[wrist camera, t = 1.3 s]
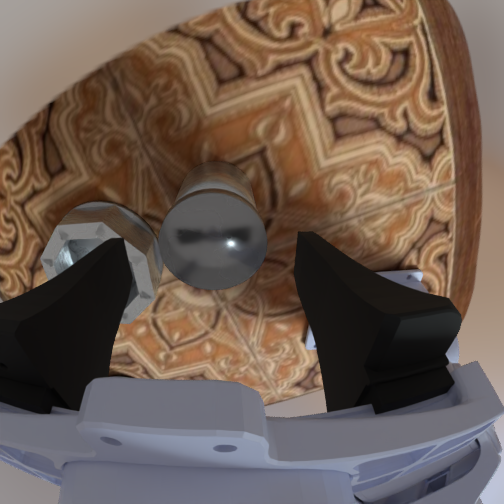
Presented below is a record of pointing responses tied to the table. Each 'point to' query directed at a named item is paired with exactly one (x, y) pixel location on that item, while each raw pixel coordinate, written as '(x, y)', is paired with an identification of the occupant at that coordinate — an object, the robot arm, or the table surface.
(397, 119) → the table surface
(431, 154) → the table surface
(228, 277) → the grey domed cylinder
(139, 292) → the grey octagonal tray
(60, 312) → the robot arm
